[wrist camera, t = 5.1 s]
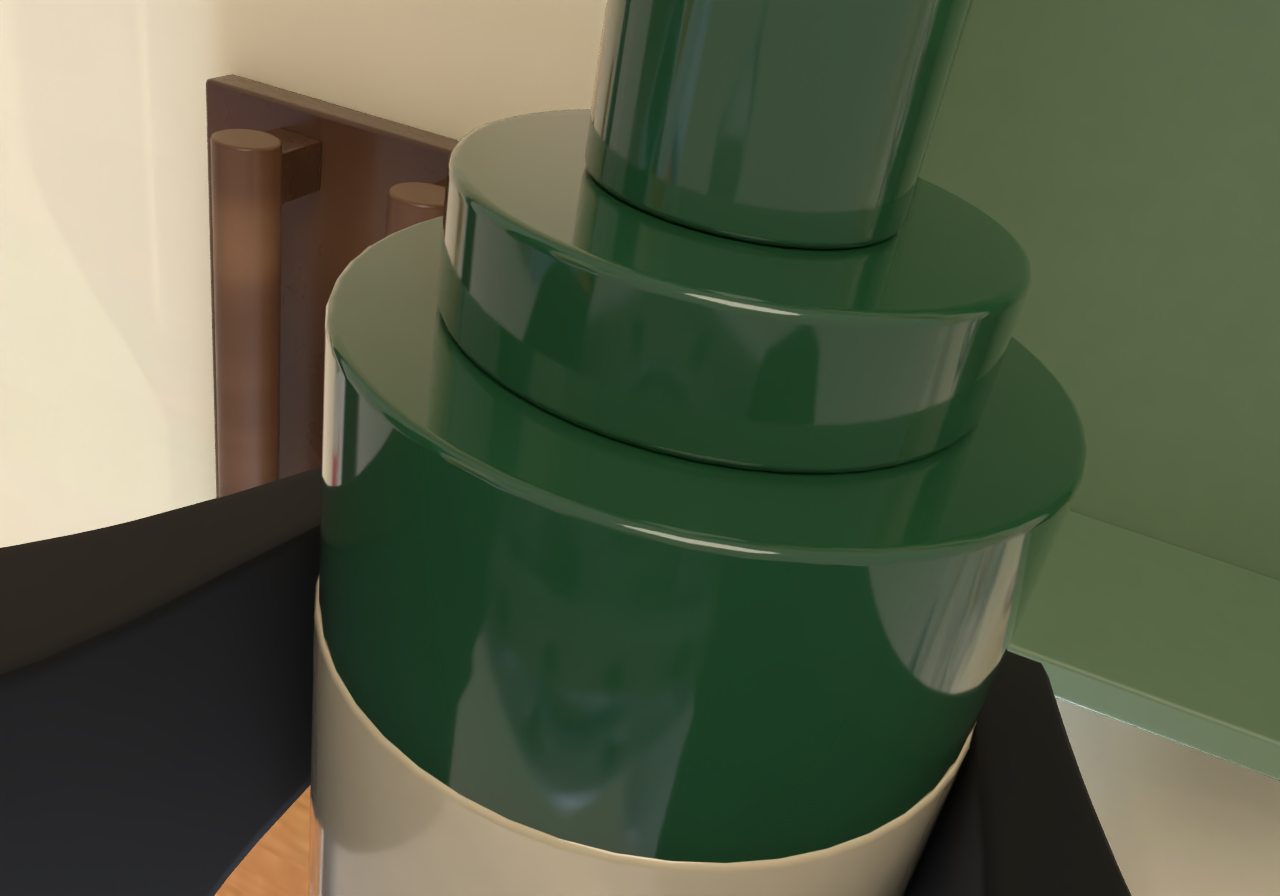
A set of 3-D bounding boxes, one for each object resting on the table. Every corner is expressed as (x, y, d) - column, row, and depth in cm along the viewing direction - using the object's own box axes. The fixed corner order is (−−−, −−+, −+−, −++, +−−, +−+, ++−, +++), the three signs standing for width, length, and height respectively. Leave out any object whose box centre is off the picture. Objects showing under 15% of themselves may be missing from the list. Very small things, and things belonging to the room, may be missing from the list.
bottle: (829, 969, 14) (699, 1476, 9) (459, 805, 15) (190, 1184, 11) (1362, -326, 7) (1807, -712, 3) (607, -433, 8) (33, -814, 4)
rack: (506, 761, 27) (446, 847, 25) (239, 645, 29) (159, 714, 27) (598, 180, 20) (527, 220, 17) (231, 72, 22) (119, 94, 19)
